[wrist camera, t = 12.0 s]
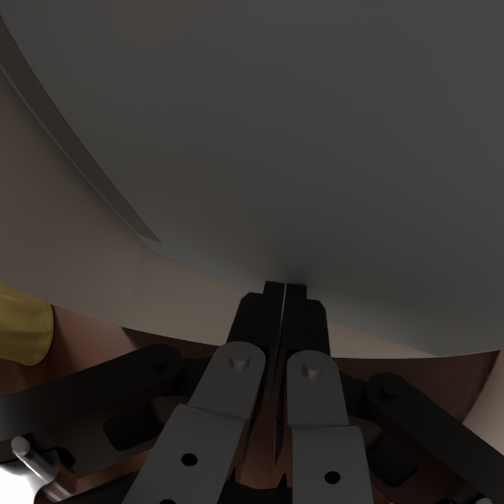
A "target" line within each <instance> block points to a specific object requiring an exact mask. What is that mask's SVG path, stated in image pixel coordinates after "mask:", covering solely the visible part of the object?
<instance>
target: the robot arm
mask: <svg viewBox="0 0 504 504" xmlns="http://www.w3.org/2000/svg"><path fill="white" fill-rule="evenodd" d="M284 290H285V283H281V282H273V281H265V285H264V290H263V294H261V293H254V292H249V293H248V294H246V295H245V296H244V297H243V298H241V301H240V304H239V306H238V309H237V312H236V316H235V318H234V321H233V324H232V326H231V329H230V332H229V335H228V338H227V341H226V343H225V344H224V345H221V346H220V347H219V348H218V349H217V350H216V351H215V352H214V354H213V356H210V357H207V358H201V359H183V358H182V355H181V354H180V352H179V351H178V350H177V349H175V348H173V347H171V346H169V345H164V344H153V345H148V346H145V347H143V348H140V349H138V350H135V351H133V352H130V353H127V354H125V355H122V356H120V357H117V358H115V359H112V360H109V361H107V362H104V363H101V364H99V365H96V366H93V367H90V368H88V369H85V370H82V371H79V372H77V373H74V374H71V375H68V376H65V377H63V378H60V379H57V380H54V381H51V382H48V383H45V384H42V385H39V386H36V387H33V388H30V389H27V390H24V391H21V392H17V393H14V394H11V395H8V396H4V397H1V398H0V504H375V503H374V502H373V495H372V488H371V483H372V484H373V485H374V486H375V487H376V488H377V489H378V490H379V491H380V492H381V493H382V494H383V495H384V496H385V497H386V498H388V499H389V500H390V501H391V502H392V503H393V504H504V456H503V455H502V454H501V453H499V452H498V451H497V450H496V449H494V448H493V447H492V446H490V445H489V444H488V443H486V442H485V441H484V440H482V439H481V438H480V437H478V436H477V435H476V434H474V433H473V432H472V431H471V430H469V429H468V428H467V427H465V426H464V425H463V424H462V423H460V422H459V421H458V420H456V419H455V418H454V417H453V416H451V415H450V414H449V413H447V412H446V411H445V410H444V409H442V408H441V407H440V406H438V405H437V404H436V403H434V402H433V401H432V400H431V399H429V398H428V397H427V396H425V395H424V394H423V393H422V392H420V391H419V390H418V389H416V388H415V387H414V386H413V385H411V384H410V383H409V382H407V381H406V380H405V379H403V378H402V377H400V376H398V375H396V374H392V373H378V374H375V375H373V376H372V377H371V378H369V380H368V381H367V382H366V381H362V380H359V379H356V378H352V377H350V376H347V375H345V374H344V373H342V372H341V371H339V370H338V366H337V364H336V362H335V361H334V360H333V359H332V358H331V353H330V343H329V334H328V328H327V326H328V325H327V316H326V309H325V307H324V306H323V305H322V303H321V302H320V301H319V300H312V299H307V287H306V285H299V284H290V283H287V285H286V292H285V299H284ZM283 300H284V306H283ZM282 309H283V313H282ZM281 318H282V320H281ZM276 357H277V359H276ZM275 363H276V367H275ZM274 369H275V375H274ZM273 375H274V382H273V390H272V397H271V400H277V401H278V404H277V412H276V416H275V421H274V445H273V468H272V476H271V482H270V489H254V488H250V487H248V486H245V485H242V484H240V483H239V482H240V478H241V474H242V470H243V466H244V463H245V459H246V456H247V453H248V449H249V446H250V443H251V439H252V436H253V433H254V429H255V426H256V422H257V418H258V415H259V414H260V412H261V407H262V401H263V399H268V400H269V397H270V392H271V386H272V380H273ZM151 448H153V449H152V450H151V452H150V454H149V456H148V458H147V459H146V461H145V463H144V465H143V466H142V468H141V470H140V471H137V472H132V473H129V474H126V475H122V476H120V477H118V478H115V479H113V480H111V481H109V482H107V483H104V484H102V485H100V486H97V487H95V488H92V489H90V490H88V491H85V492H82V493H80V494H77V495H75V496H73V495H74V494H75V491H76V483H77V479H79V478H81V477H84V476H87V475H90V474H92V473H95V472H98V471H100V470H103V469H105V468H108V467H110V466H113V465H115V464H118V463H120V462H122V461H125V460H127V459H129V458H131V457H134V456H136V455H138V454H140V453H142V452H144V451H147V450H149V449H151ZM69 496H72V497H69ZM67 497H69V498H67ZM65 498H66V499H65ZM63 499H64V500H63Z"/></svg>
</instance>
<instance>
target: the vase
mask: <svg viewBox="0 0 504 504" xmlns="http://www.w3.org/2000/svg"><path fill="white" fill-rule="evenodd" d="M53 332H54V317H53V311H52V307H51V304H50V303H47V302H44V301H42V300H39V299H37V298H34V297H31V296H29V295H26V294H24V293H22V292H19V291H17V290H14V289H12V288H10V287H7V286H5V285H3V284H1V283H0V358H1V359H6V360H12V361H16V362H19V363H21V364H23V365H27V366H32V365H36V364H38V363H39V362H40V361H41V360H42V359H43V358H44V357H45V356H46V354H47V353H48V350H49V348H50V345H51V342H52V338H53Z"/></svg>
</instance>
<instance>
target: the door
mask: <svg viewBox="0 0 504 504" xmlns="http://www.w3.org/2000/svg"><path fill="white" fill-rule="evenodd" d="M0 69H1V70H2V72H3V73H4V75H5V76H6V78H7V79H8V81H9V82H10V84H11V85H12V86H13V88H14V89H15V91H16V92H17V93H18V95H19V96H20V98H21V99H22V100H23V102H24V103H25V105H26V106H27V107H28V109H29V110H30V111H31V113H32V114H33V115H34V117H35V118H36V119H37V121H38V122H39V123H40V124H41V126H42V127H43V128H44V130H45V131H46V132H47V133H48V135H49V136H50V137H51V138H52V140H53V141H54V142H55V143H56V145H57V146H58V147H59V148H60V150H61V151H62V152H63V153H64V154H65V156H66V157H67V158H68V159H69V160H70V162H71V163H72V164H73V165H74V166H75V167H76V169H77V170H78V171H79V172H80V173H81V174H82V176H83V177H84V178H85V179H86V180H87V181H88V182H89V184H90V185H91V186H92V187H93V188H94V189H95V190H96V191H97V193H98V194H99V195H100V196H101V197H102V198H103V199H104V200H105V201H106V203H107V204H108V205H109V206H110V207H111V208H112V209H113V210H114V211H115V212H116V213H117V214H118V216H119V217H120V218H121V219H122V220H123V221H124V222H125V223H126V224H127V225H128V226H129V227H130V228H131V229H132V230H133V231H134V232H135V233H136V234H137V235H138V236H139V238H140V239H141V240H142V241H143V242H144V243H145V244H146V245H147V246H148V247H149V248H150V249H151V250H152V251H153V252H154V253H156V254H158V255H161V256H163V257H166V258H168V259H170V260H173V261H175V262H178V263H180V264H182V265H185V266H187V267H190V268H192V269H195V270H197V271H199V272H202V273H204V274H207V275H209V276H212V277H214V278H217V279H219V280H222V281H224V282H227V283H230V284H232V285H235V286H237V287H240V288H242V289H245V290H248V291H250V292H254V293H261V294H263V290H264V285H265V281H273V282H281V283H285V290H284V299H285V292H286V285H287V283H290V284H299V285H306V287H307V299H312V300H319V301H320V302H321V303H322V305H323V306H324V307H325V309H326V316H327V320H329V321H332V322H335V323H338V324H340V325H343V326H346V327H349V328H352V329H355V330H358V331H361V332H364V333H367V334H370V335H373V336H376V337H379V338H382V339H385V340H388V341H391V342H394V343H397V344H400V345H404V346H407V347H410V348H413V349H416V350H420V351H423V352H426V353H429V354H433V355H436V356H439V357H441V356H451V355H460V354H468V353H475V352H482V351H488V350H495V349H500V348H504V0H0ZM283 304H284V300H283Z"/></svg>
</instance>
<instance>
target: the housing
mask: <svg viewBox="0 0 504 504" xmlns="http://www.w3.org/2000/svg"><path fill="white" fill-rule="evenodd" d="M0 283H1V284H3V285H5V286H7V287H10V288H12V289H14V290H17V291H19V292H22V293H24V294H26V295H29V296H31V297H34V298H37V299H39V300H42V301H44V302H47V303H50V304H53V305H55V306H58V307H61V308H64V309H67V310H69V311H72V312H75V313H78V314H81V315H84V316H88V317H91V318H94V319H97V320H100V321H104V322H107V323H110V324H114V325H117V326H121V327H125V328H129V329H133V330H138V331H142V332H147V333H151V334H156V335H161V336H166V337H171V338H176V339H181V340H187V341H193V342H198V343H204V344H210V345H217V346H221V345H224V344H225V343H226V341H227V338H228V335H229V332H230V329H231V326H232V324H233V321H234V318H235V316H236V312H237V309H238V306H239V304H240V301H241V298H243V297H244V296H245V295H246V294H248V293H249V292H250V291H248V290H245V289H242V288H240V287H237V286H235V285H232V284H230V283H227V282H224V281H222V280H219V279H217V278H214V277H212V276H209V275H207V274H204V273H202V272H199V271H197V270H195V269H192V268H190V267H187V266H185V265H182V264H180V263H178V262H175V261H173V260H170V259H168V258H166V257H163V256H161V255H158V254H156V253H154V252H153V251H152V250H151V249H150V248H149V247H148V246H147V245H146V244H145V243H144V242H143V241H142V240H141V239H140V238H139V236H138V235H137V234H136V233H135V232H134V231H133V230H132V229H131V228H130V227H129V226H128V225H127V224H126V223H125V222H124V221H123V220H122V219H121V218H120V217H119V216H118V214H117V213H116V212H115V211H114V210H113V209H112V208H111V207H110V206H109V205H108V204H107V203H106V201H105V200H104V199H103V198H102V197H101V196H100V195H99V194H98V193H97V191H96V190H95V189H94V188H93V187H92V186H91V185H90V184H89V182H88V181H87V180H86V179H85V178H84V177H83V176H82V174H81V173H80V172H79V171H78V170H77V169H76V167H75V166H74V165H73V164H72V163H71V162H70V160H69V159H68V158H67V157H66V156H65V154H64V153H63V152H62V151H61V150H60V148H59V147H58V146H57V145H56V143H55V142H54V141H53V140H52V138H51V137H50V136H49V135H48V133H47V132H46V131H45V130H44V128H43V127H42V126H41V124H40V123H39V122H38V121H37V119H36V118H35V117H34V115H33V114H32V113H31V111H30V110H29V109H28V107H27V106H26V105H25V103H24V102H23V100H22V99H21V98H20V96H19V95H18V93H17V92H16V91H15V89H14V88H13V86H12V85H11V84H10V82H9V81H8V79H7V78H6V76H5V75H4V73H3V72H2V70H1V69H0ZM283 306H284V304H283ZM282 313H283V309H282ZM281 320H282V318H281ZM327 325H328V326H327V328H328V334H329V343H330V353H331V357H336V358H366V359H406V358H435V357H439V356H436V355H433V354H429V353H426V352H423V351H420V350H416V349H413V348H410V347H407V346H404V345H400V344H397V343H394V342H391V341H388V340H385V339H382V338H379V337H376V336H373V335H370V334H367V333H364V332H361V331H358V330H355V329H352V328H349V327H346V326H343V325H340V324H338V323H335V322H332V321H329V320H327ZM502 349H504V348H500V349H495V350H488V351H482V352H475V353H468V354H476V353H483V352H489V351H496V350H502ZM468 354H460V355H468ZM451 356H459V355H451ZM441 357H450V356H441Z"/></svg>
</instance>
